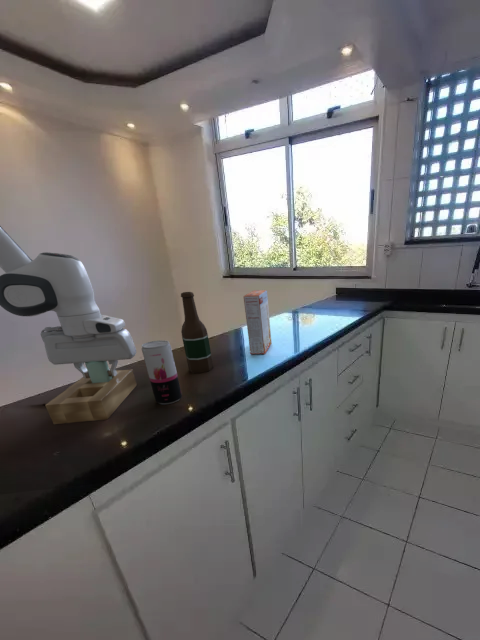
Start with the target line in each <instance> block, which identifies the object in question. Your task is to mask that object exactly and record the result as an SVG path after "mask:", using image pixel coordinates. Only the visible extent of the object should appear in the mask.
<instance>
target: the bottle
mask: <svg viewBox="0 0 480 640" xmlns="http://www.w3.org/2000/svg"><path fill="white" fill-rule="evenodd" d="M84 365H85V368H86V369H87V370H88V373H89V376H90V379H91V381H92V383H101V382H109V381H110V380H111V379H112V377H109V375H108V372H107V371H108V370H109V369H110V366H109V363H108V361H98V362H94V361H91V362H85V363H84Z"/></svg>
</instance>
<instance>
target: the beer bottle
mask: <svg viewBox="0 0 480 640" xmlns="http://www.w3.org/2000/svg"><path fill="white" fill-rule="evenodd" d="M180 297H181V299H182V308H183V313H184V314H183V316H184V320H183V324H182V325H181V331H180V332H181V338H182V344H183V349H184V354H185V358H186V362H187V367H188V370H189V371H190V372H191V373H192V374H203V373H206V372H210V371H211V370H212V369H213V368H214V365H213V364H214V363H213V357H212V351H211V345H210V344H211V343H210V339H209V333H208V330H207V328H206V326H205V324H204V323H203V321H202V320H201V319H200V317H199V314H198V310H197V307H196V302H195V299H194V297H195V294H194V292H193V291H184V292H181V293H180Z"/></svg>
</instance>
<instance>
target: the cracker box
mask: <svg viewBox="0 0 480 640" xmlns="http://www.w3.org/2000/svg"><path fill="white" fill-rule="evenodd" d="M268 297H269V296H268V290H267V289H254V290H251V291H250V292H248V293H247V294H244V295H243V305H244V314H245V320H246V321H245V322H246V327H247V328H246V329H247V336H248V337H247V338H248V345H249V353H250V355H266V353H267V351H268V350H269V348H270V347H271V346H272V334H271V332H272V330H271V322H270V310H269V298H268Z"/></svg>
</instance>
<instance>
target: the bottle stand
mask: <svg viewBox="0 0 480 640" xmlns="http://www.w3.org/2000/svg"><path fill="white" fill-rule="evenodd" d="M116 372H117V375H116V376H112V379H111V380H110V381H109V382H101V383H92V381H91V379H90V378H87V379H84V377H83V376H82V377H81V378H79V379H78V380H77V381H76V382H74V383H73V384H71V385H69V387H68V388H66V389H65V390H64V391H62V392H61V393H59V394H58V395H56V397H54V398H53V399H51V400H50V401H49V402H47V403H46V404H45V408H46V410H47V412H48V414H49V418H50V419H51V422H52V423H53V425H61V424H72V423H83V422H94V421H103V420H104V421H105V420H109V418H111V416H112V415H113V413H115V412H116V410H117V409H118V408H119V407H120V405H121V404H122V403H123V402H124V401H125V400H126V399H127V397H128V396H130V394H131V393H132V391H134V389H135V388H136V387H137V384H138V383H137V380H136V378H135V374H134V370H133V369H132V368H130V369H116Z"/></svg>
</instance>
